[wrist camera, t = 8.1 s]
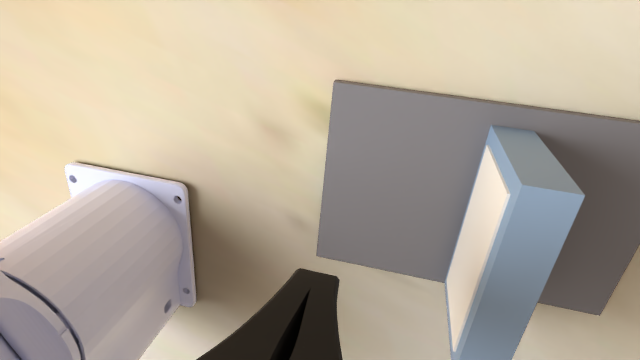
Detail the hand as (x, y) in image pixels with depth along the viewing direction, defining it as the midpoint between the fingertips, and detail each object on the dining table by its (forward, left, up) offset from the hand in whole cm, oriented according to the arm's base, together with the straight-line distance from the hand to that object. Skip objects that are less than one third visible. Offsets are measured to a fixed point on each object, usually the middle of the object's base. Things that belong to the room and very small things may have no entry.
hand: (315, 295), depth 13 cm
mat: (0, -6, -9) cm, 11 cm away
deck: (0, -7, -8) cm, 11 cm away
